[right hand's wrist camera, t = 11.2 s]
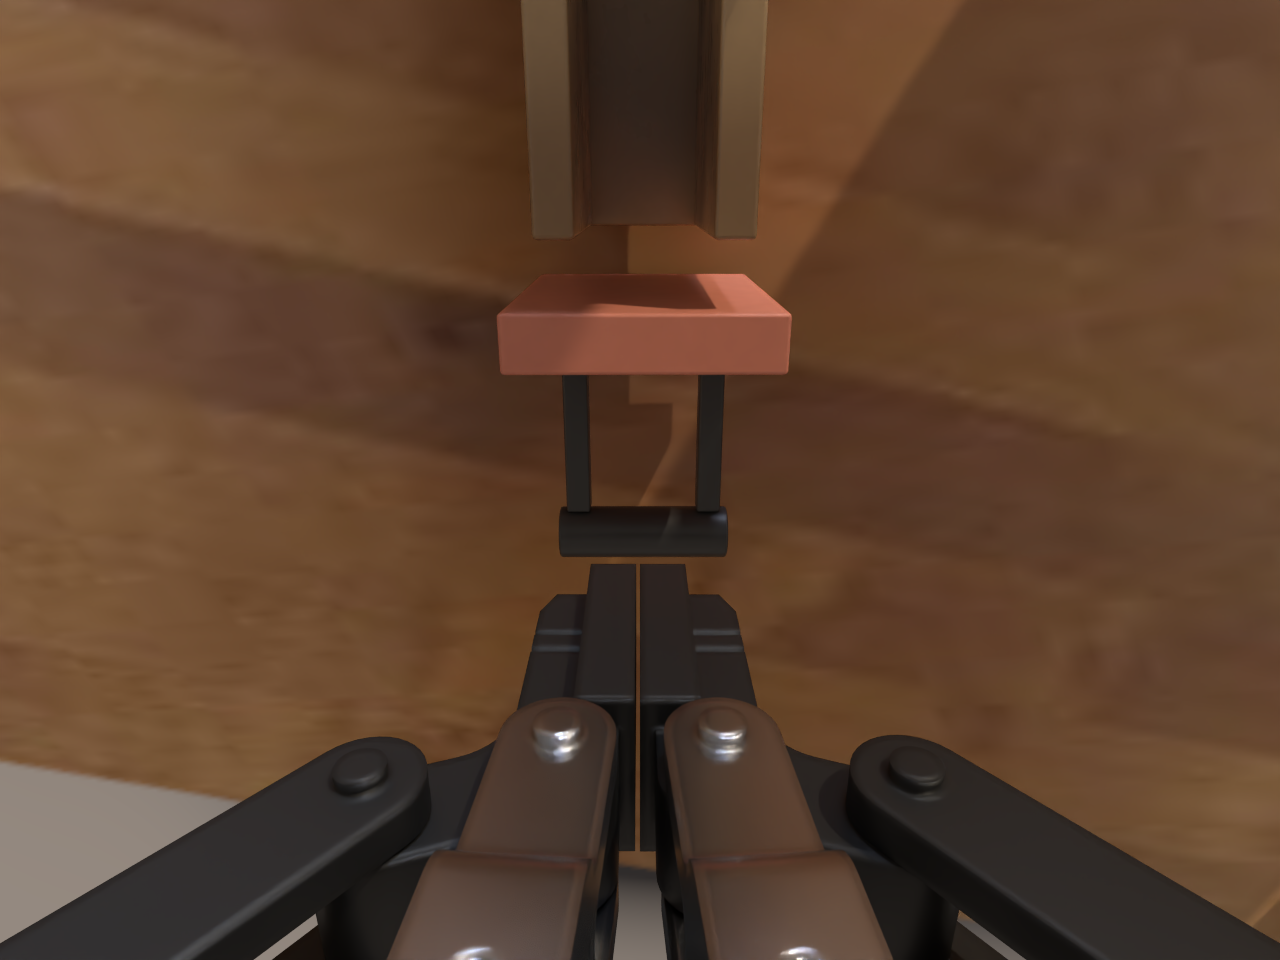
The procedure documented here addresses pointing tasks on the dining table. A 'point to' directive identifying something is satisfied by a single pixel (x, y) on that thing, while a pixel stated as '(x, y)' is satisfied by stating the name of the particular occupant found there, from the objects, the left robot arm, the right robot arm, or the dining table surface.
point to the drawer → (644, 195)
